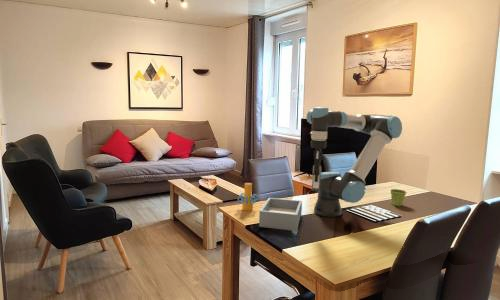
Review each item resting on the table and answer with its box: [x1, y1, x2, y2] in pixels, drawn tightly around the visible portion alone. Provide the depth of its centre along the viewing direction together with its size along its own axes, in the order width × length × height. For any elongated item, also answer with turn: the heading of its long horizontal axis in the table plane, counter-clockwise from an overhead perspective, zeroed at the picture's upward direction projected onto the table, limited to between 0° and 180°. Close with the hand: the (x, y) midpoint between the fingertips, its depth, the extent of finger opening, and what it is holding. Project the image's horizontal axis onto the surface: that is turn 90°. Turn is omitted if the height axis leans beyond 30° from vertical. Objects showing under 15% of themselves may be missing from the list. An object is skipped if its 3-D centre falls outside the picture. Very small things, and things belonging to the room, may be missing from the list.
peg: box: [311, 165, 322, 192], centre depth 178 cm, size 4×4×12 cm
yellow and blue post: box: [237, 182, 259, 212], centre depth 204 cm, size 12×10×15 cm
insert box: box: [258, 197, 303, 232], centre depth 188 cm, size 18×24×8 cm
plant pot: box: [389, 188, 408, 207], centre depth 222 cm, size 9×9×9 cm
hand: (316, 186), depth 178 cm, fingers closed on peg, 4 cm apart
